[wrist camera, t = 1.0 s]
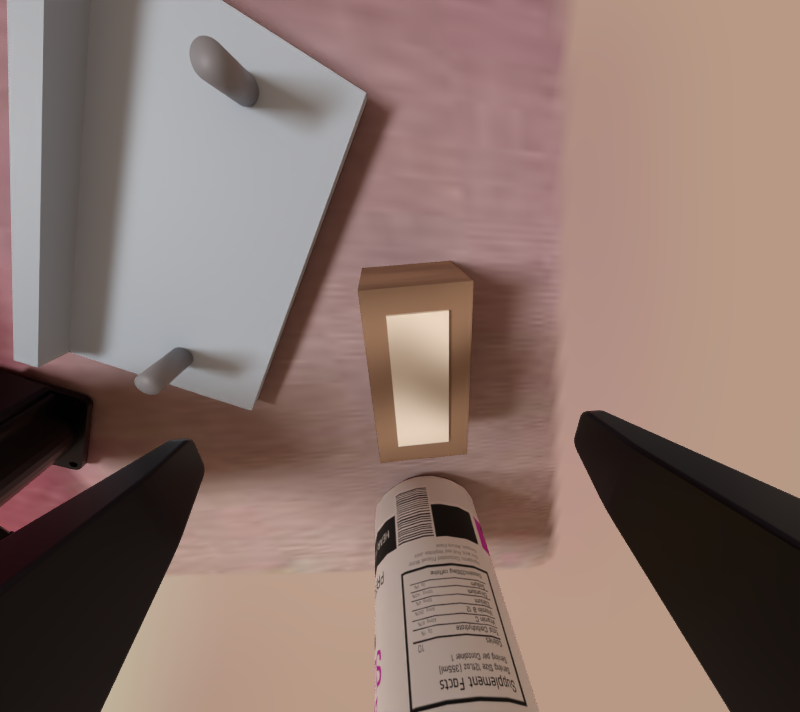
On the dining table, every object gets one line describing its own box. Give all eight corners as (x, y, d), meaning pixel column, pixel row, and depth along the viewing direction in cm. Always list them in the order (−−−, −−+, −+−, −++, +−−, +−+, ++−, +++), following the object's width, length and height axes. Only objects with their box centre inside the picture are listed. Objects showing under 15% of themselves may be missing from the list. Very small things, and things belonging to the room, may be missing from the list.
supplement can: (488, 503, 27) (596, 793, 14) (417, 546, 30) (451, 835, 16) (430, 454, 24) (496, 766, 11) (355, 506, 26) (334, 821, 13)
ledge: (257, 400, 21) (231, 443, 17) (66, 336, 18) (-14, 372, 14) (366, 100, 14) (363, 66, 11) (90, -75, 11) (-48, -206, 8)
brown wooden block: (449, 403, 23) (467, 455, 18) (379, 410, 22) (380, 464, 18) (449, 260, 18) (474, 281, 13) (362, 267, 18) (357, 291, 13)
